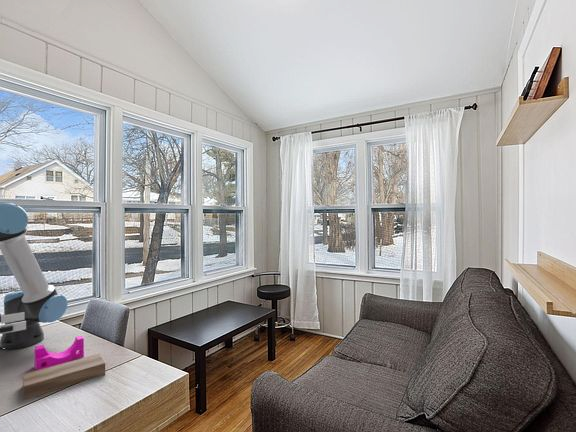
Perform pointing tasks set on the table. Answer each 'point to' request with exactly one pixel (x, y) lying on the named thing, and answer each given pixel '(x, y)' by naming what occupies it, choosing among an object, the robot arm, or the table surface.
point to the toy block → (58, 354)
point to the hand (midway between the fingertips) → (25, 320)
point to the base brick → (62, 375)
